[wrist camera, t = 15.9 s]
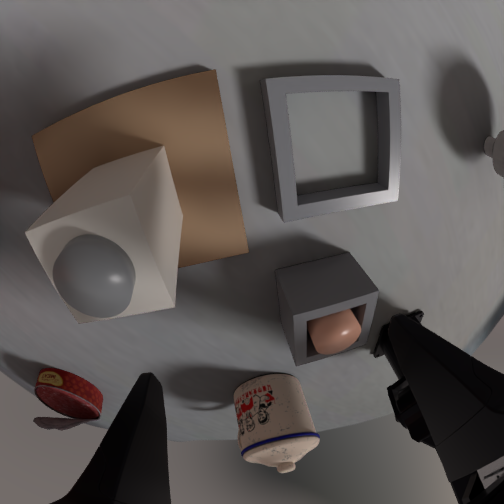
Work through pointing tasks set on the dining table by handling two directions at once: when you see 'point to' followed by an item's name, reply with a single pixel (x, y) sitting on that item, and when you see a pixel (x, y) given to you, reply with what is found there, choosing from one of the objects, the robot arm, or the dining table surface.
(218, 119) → the pad
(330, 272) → the housing
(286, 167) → the collar
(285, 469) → the teacup with lid
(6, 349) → the dining table surface
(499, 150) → the showerhead
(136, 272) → the cartridge
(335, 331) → the pink ball
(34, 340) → the dining table surface
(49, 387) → the canned food
